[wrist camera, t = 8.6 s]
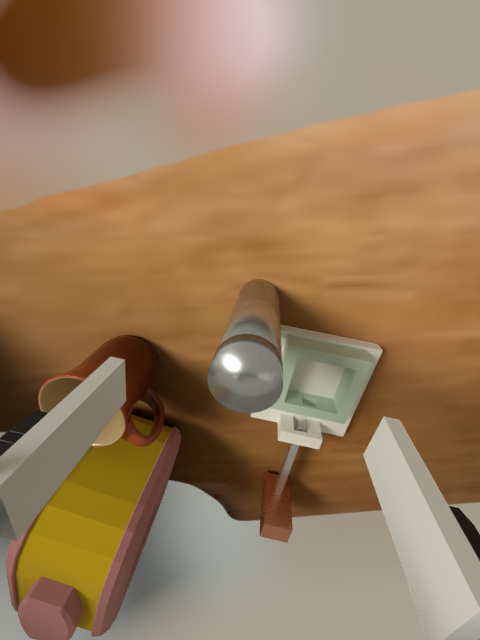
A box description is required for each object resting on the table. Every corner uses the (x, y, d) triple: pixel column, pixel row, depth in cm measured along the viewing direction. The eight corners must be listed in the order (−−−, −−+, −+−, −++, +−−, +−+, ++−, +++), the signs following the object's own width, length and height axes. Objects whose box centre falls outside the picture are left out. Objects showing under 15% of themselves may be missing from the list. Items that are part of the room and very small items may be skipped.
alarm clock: (166, 489, 44) (95, 674, 27) (104, 468, 44) (-7, 642, 27) (191, 413, 37) (114, 603, 19) (116, 387, 37) (-30, 557, 19)
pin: (313, 412, 33) (323, 460, 27) (285, 488, 40) (287, 542, 34) (286, 406, 34) (288, 453, 27) (262, 483, 40) (259, 535, 34)
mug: (91, 356, 35) (24, 411, 25) (123, 312, 31) (59, 358, 22) (162, 408, 37) (125, 476, 28) (199, 372, 34) (170, 436, 24)
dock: (377, 343, 29) (393, 365, 25) (340, 427, 34) (348, 455, 31) (272, 322, 30) (271, 340, 26) (251, 408, 35) (248, 433, 31)
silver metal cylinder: (236, 313, 30) (203, 404, 16) (242, 275, 28) (211, 343, 14) (274, 320, 29) (274, 420, 16) (283, 283, 28) (291, 359, 14)
